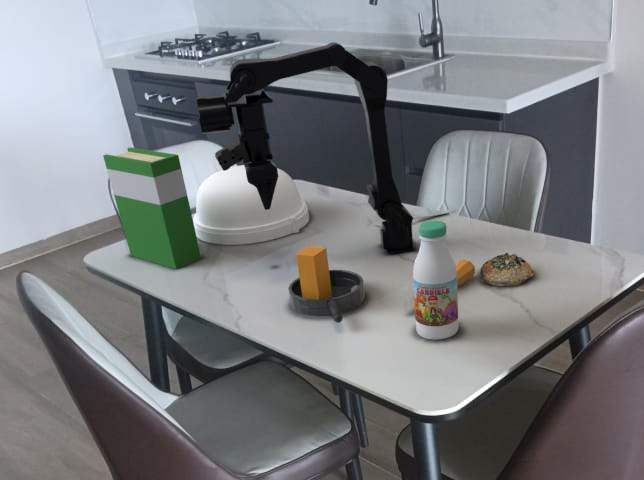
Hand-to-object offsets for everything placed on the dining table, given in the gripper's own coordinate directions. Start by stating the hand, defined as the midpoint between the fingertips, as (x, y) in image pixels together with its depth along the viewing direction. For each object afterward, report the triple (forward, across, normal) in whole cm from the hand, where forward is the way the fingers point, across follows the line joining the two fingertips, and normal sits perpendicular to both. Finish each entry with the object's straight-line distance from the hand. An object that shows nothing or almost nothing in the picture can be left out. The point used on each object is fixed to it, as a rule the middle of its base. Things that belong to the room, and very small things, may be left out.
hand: (265, 203), depth 158 cm
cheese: (+14, +25, +6) cm, 30 cm away
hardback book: (+15, -18, -25) cm, 34 cm away
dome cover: (+15, -33, -3) cm, 36 cm away
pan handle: (+13, +34, +8) cm, 37 cm away
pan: (+15, +23, +8) cm, 29 cm away
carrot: (+15, +28, +30) cm, 44 cm away
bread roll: (+15, +25, +45) cm, 54 cm away
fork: (+15, -16, +37) cm, 43 cm away
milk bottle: (+15, +43, +25) cm, 52 cm away
